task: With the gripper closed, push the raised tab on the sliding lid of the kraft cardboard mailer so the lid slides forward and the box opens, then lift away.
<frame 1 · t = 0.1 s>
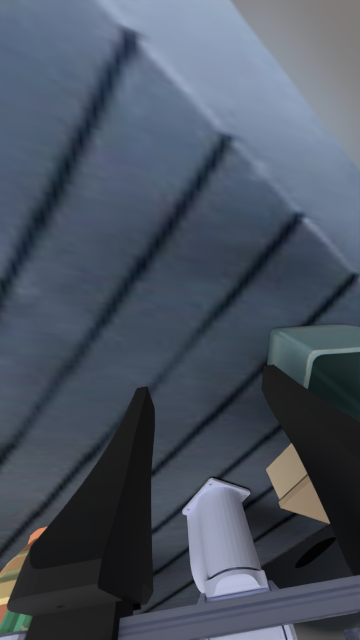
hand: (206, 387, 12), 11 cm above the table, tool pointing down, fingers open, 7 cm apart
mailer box: (324, 447, 30), on the table
mailer lid: (358, 489, 24), point 6 cm above the table, slide at 0.0 cm
potted cactus: (57, 539, 34), on the table
flower pot: (287, 344, 23), on the table
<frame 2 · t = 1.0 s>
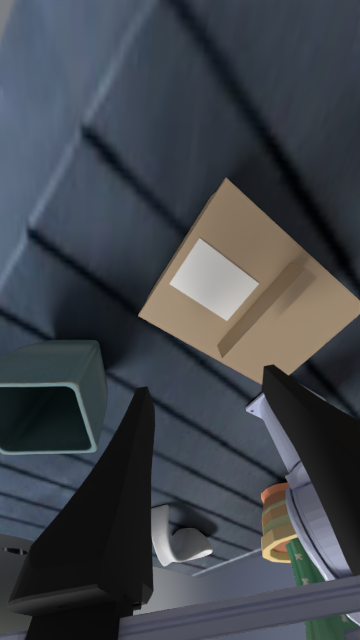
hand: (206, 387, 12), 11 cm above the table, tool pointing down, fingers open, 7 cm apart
mailer lid: (258, 315, 16), point 6 cm above the table, slide at 0.0 cm
potted cactus: (280, 492, 42), on the table
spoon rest: (178, 522, 47), on the table
flower pot: (81, 355, 24), on the table
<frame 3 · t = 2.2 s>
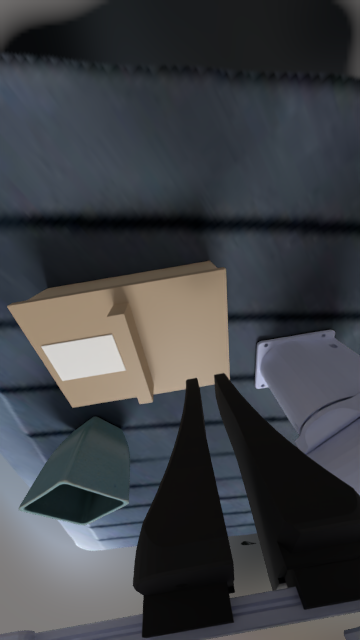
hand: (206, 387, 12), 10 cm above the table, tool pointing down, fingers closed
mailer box: (142, 323, 21), on the table
mailer lid: (135, 355, 16), point 6 cm above the table, slide at 0.0 cm
flower pot: (99, 428, 29), on the table
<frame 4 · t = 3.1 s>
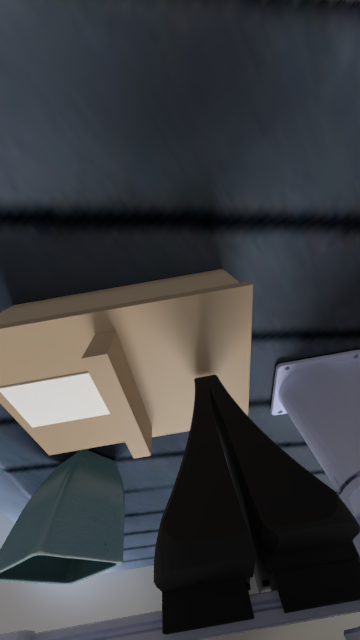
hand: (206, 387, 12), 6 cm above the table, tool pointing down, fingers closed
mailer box: (136, 345, 17), on the table
mailer lid: (126, 397, 12), point 6 cm above the table, slide at 0.0 cm
flower pot: (89, 459, 25), on the table
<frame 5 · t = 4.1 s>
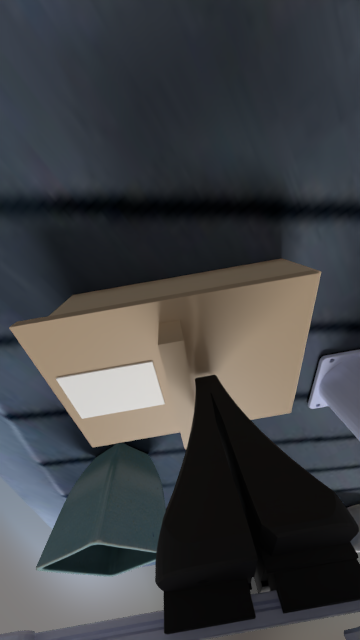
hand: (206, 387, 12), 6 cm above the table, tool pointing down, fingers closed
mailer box: (187, 336, 17), on the table
mailer lid: (182, 387, 12), point 6 cm above the table, slide at 1.0 cm, touching gripper
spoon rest: (337, 504, 43), on the table
flower pot: (122, 453, 25), on the table
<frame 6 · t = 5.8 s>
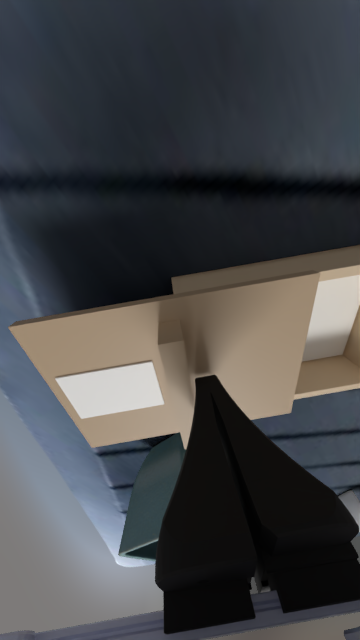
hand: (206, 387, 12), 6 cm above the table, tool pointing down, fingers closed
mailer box: (269, 321, 17), on the table
mailer lid: (182, 387, 12), point 6 cm above the table, slide at 8.5 cm, touching gripper
flower pot: (177, 444, 25), on the table
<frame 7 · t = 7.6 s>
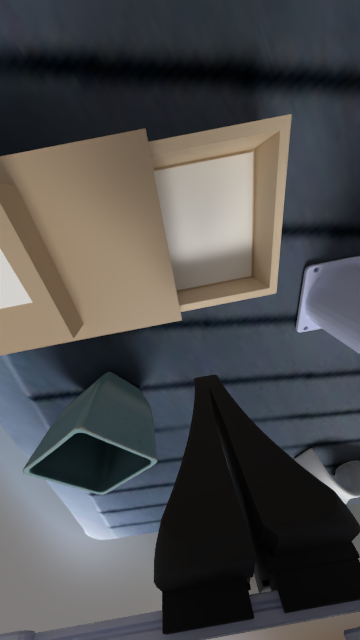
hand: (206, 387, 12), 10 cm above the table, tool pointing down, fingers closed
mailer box: (169, 237, 17), on the table
mailer lid: (41, 271, 12), point 6 cm above the table, slide at 8.5 cm
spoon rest: (333, 461, 42), on the table
flower pot: (113, 388, 25), on the table
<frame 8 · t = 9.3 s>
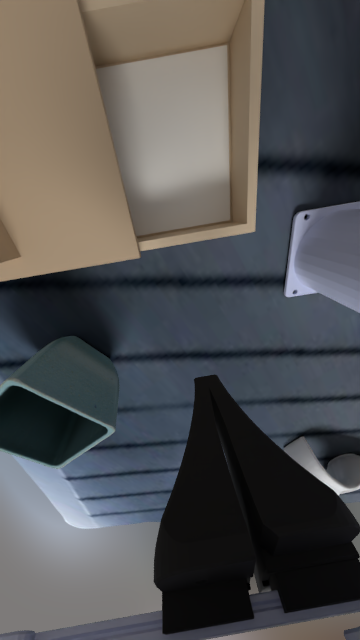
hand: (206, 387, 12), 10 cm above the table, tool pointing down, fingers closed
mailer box: (132, 166, 14), on the table
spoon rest: (325, 453, 40), on the table
flower pot: (81, 358, 23), on the table
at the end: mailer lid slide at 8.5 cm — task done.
